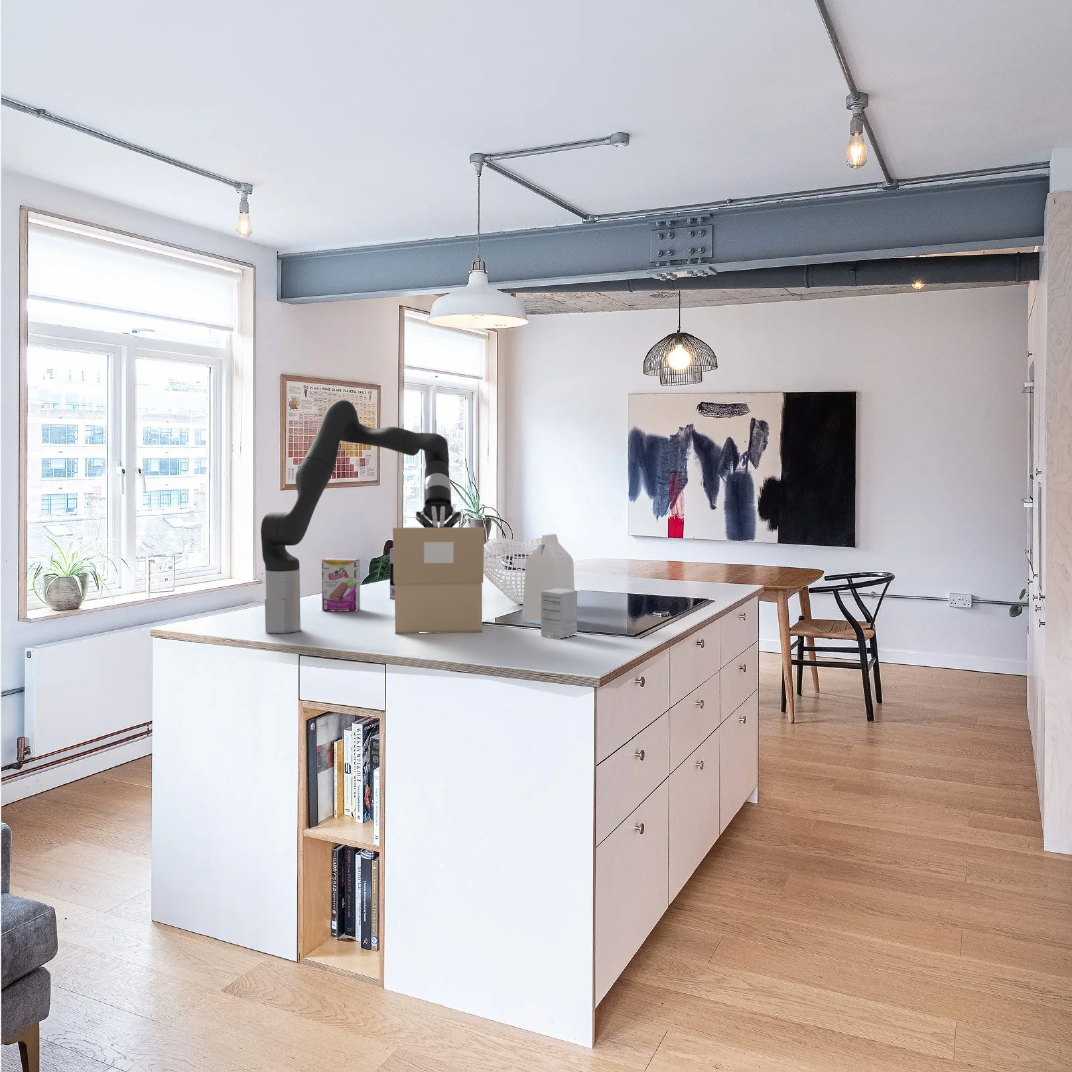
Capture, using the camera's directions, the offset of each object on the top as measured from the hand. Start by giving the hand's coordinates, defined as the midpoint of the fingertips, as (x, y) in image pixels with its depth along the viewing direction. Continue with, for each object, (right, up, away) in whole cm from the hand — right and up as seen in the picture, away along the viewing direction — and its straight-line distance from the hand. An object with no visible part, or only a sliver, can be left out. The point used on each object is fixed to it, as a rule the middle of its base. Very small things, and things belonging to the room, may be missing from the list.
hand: (438, 540), depth 259 cm
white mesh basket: (+22, -22, +54) cm, 62 cm away
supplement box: (+33, -26, +2) cm, 42 cm away
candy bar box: (-35, -23, +42) cm, 59 cm away
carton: (-2, -25, +13) cm, 28 cm away
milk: (+30, -25, +24) cm, 46 cm away
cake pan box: (-18, -20, +73) cm, 78 cm away
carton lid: (0, -4, +1) cm, 4 cm away
